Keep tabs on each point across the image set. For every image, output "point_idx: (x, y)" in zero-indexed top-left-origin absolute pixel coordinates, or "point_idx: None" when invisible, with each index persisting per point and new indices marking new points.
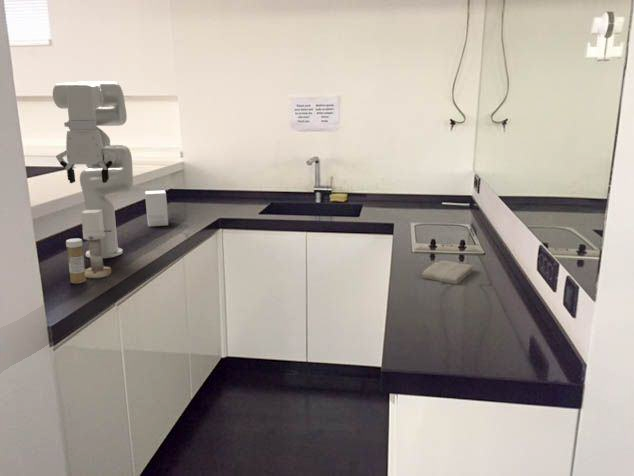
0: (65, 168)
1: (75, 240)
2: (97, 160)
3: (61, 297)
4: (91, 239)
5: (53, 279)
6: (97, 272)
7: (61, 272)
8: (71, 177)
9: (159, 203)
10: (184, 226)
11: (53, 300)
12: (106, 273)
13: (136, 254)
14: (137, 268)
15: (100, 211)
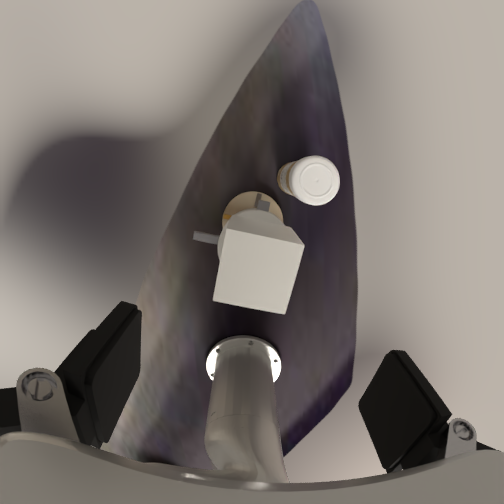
0: (471, 426)
1: (311, 170)
2: (20, 471)
3: (318, 87)
4: (261, 200)
5: (343, 215)
6: (252, 200)
7: (329, 262)
8: (408, 375)
9: None
10: (127, 452)
11: (330, 77)
12: (232, 199)
13: (177, 345)
14: (166, 239)
15: (218, 272)
